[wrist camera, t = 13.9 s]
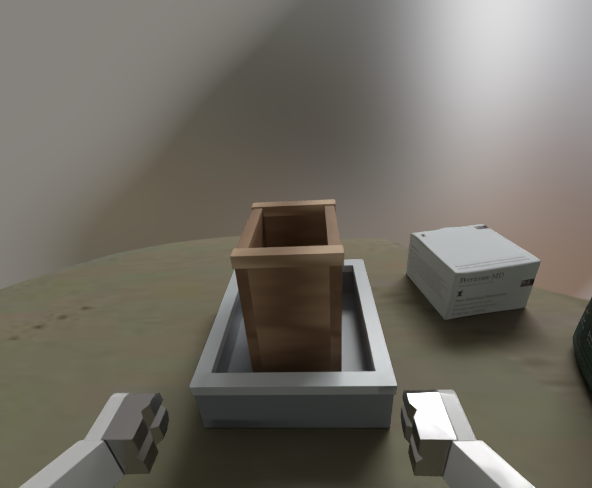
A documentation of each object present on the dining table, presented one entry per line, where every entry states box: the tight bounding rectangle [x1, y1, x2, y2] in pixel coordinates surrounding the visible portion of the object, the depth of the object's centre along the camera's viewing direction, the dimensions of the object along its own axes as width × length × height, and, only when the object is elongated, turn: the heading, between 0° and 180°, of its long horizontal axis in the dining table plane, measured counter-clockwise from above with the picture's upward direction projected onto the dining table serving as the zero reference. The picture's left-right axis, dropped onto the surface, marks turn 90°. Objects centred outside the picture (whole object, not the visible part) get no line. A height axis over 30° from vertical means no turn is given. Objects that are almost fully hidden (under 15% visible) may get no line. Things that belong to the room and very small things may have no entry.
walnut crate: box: [230, 199, 344, 373], centre depth 24 cm, size 6×8×10 cm
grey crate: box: [189, 259, 397, 428], centre depth 26 cm, size 12×14×4 cm
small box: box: [406, 224, 540, 320], centre depth 31 cm, size 8×8×5 cm
